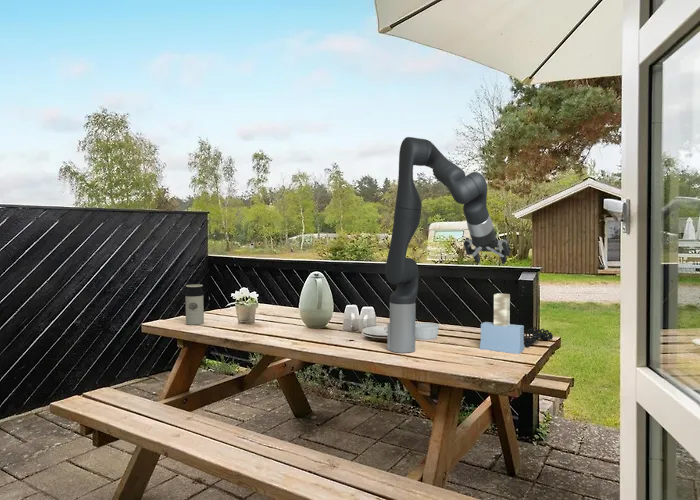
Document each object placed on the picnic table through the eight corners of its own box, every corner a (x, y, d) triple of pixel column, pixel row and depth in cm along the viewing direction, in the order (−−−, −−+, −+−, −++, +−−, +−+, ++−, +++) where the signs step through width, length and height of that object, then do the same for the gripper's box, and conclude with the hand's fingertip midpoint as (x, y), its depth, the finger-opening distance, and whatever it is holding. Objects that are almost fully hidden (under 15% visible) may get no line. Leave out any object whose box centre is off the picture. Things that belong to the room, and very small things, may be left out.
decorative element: (543, 338, 200) (543, 324, 200) (555, 340, 197) (555, 325, 196) (512, 347, 186) (512, 331, 185) (525, 349, 182) (525, 333, 182)
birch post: (493, 325, 180) (493, 294, 180) (497, 323, 184) (497, 293, 184) (506, 326, 178) (506, 295, 177) (509, 324, 182) (509, 294, 181)
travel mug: (190, 321, 238) (190, 284, 237) (206, 322, 236) (206, 284, 236) (182, 325, 230) (182, 286, 229) (199, 325, 229) (198, 286, 228)
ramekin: (405, 337, 202) (405, 324, 201) (421, 333, 210) (421, 321, 210) (428, 342, 194) (428, 328, 194) (444, 337, 202) (444, 324, 202)
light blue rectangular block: (479, 348, 182) (479, 324, 182) (485, 345, 188) (485, 321, 188) (519, 354, 175) (519, 328, 174) (524, 349, 180) (524, 325, 180)
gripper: (505, 219, 157) (515, 254, 167) (462, 219, 164) (473, 253, 174) (500, 236, 152) (510, 271, 163) (456, 235, 160) (468, 269, 170)
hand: (491, 261), depth 168 cm, fingers open, 8 cm apart
